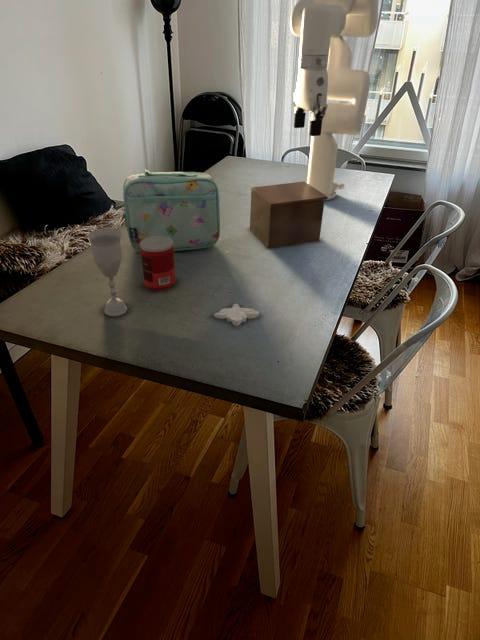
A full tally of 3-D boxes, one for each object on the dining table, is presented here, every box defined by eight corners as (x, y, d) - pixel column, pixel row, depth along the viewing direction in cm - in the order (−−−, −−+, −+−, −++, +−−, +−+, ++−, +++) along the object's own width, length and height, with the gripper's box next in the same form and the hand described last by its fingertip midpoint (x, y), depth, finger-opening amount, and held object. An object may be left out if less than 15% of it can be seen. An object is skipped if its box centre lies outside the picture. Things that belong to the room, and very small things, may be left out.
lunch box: (125, 257, 127) (115, 179, 115) (125, 242, 135) (115, 167, 123) (221, 250, 132) (221, 174, 120) (215, 236, 140) (215, 163, 128)
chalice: (102, 301, 108) (90, 228, 98) (132, 301, 108) (123, 228, 98) (97, 319, 102) (84, 243, 92) (129, 318, 102) (119, 242, 92)
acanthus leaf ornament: (259, 316, 104) (259, 309, 103) (239, 329, 100) (240, 322, 99) (233, 304, 108) (233, 297, 107) (213, 316, 104) (213, 309, 103)
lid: (304, 183, 144) (304, 181, 143) (327, 199, 132) (327, 196, 132) (251, 190, 139) (251, 187, 138) (270, 206, 127) (270, 203, 127)
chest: (297, 223, 150) (301, 185, 144) (319, 241, 139) (324, 201, 132) (249, 229, 145) (251, 190, 139) (268, 248, 134) (270, 207, 127)
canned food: (180, 278, 118) (178, 238, 112) (166, 293, 112) (163, 251, 105) (153, 273, 120) (150, 233, 114) (138, 287, 114) (133, 246, 107)
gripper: (343, 66, 116) (334, 137, 126) (310, 58, 129) (304, 124, 139) (316, 66, 114) (309, 139, 123) (286, 59, 127) (281, 125, 137)
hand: (306, 131), depth 131 cm, fingers open, 9 cm apart
